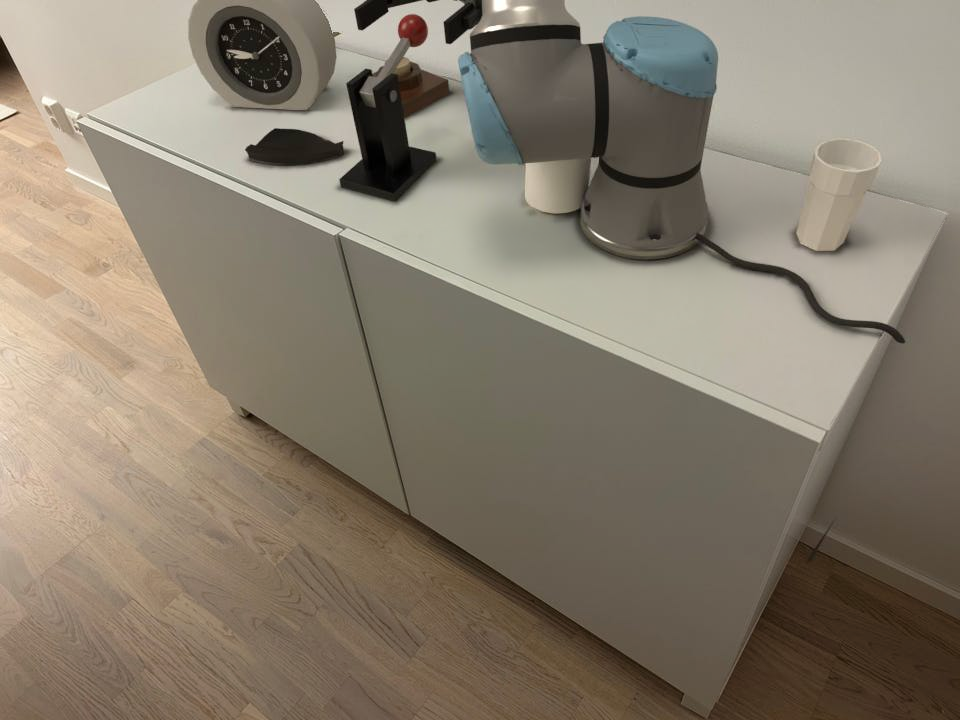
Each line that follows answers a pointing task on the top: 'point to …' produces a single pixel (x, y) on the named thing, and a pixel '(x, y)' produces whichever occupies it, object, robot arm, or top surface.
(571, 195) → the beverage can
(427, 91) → the button block
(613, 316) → the top surface
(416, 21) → the lever
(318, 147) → the curved wedge
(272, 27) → the alarm clock
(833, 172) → the cup
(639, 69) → the robot arm
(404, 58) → the button
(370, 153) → the bracket
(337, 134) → the top surface
